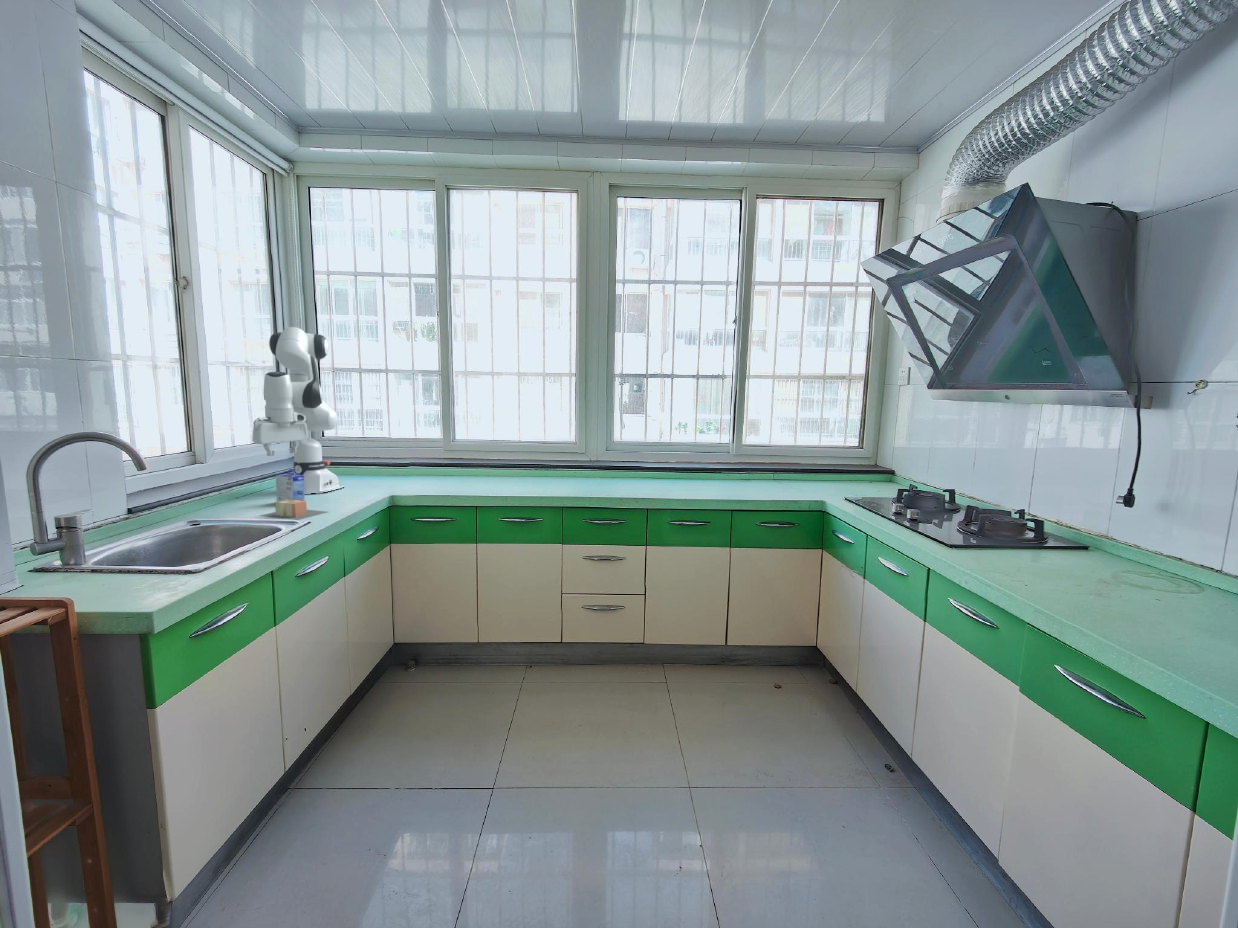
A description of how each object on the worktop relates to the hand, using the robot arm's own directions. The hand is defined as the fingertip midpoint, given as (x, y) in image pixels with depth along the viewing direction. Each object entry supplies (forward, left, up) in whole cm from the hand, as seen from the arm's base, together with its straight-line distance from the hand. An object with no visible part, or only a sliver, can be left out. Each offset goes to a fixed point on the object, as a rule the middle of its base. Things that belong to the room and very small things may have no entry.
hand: (282, 454), depth 197 cm
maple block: (0, -2, -20) cm, 20 cm away
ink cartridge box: (-16, -15, -23) cm, 32 cm away
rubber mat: (-2, +2, -23) cm, 23 cm away
